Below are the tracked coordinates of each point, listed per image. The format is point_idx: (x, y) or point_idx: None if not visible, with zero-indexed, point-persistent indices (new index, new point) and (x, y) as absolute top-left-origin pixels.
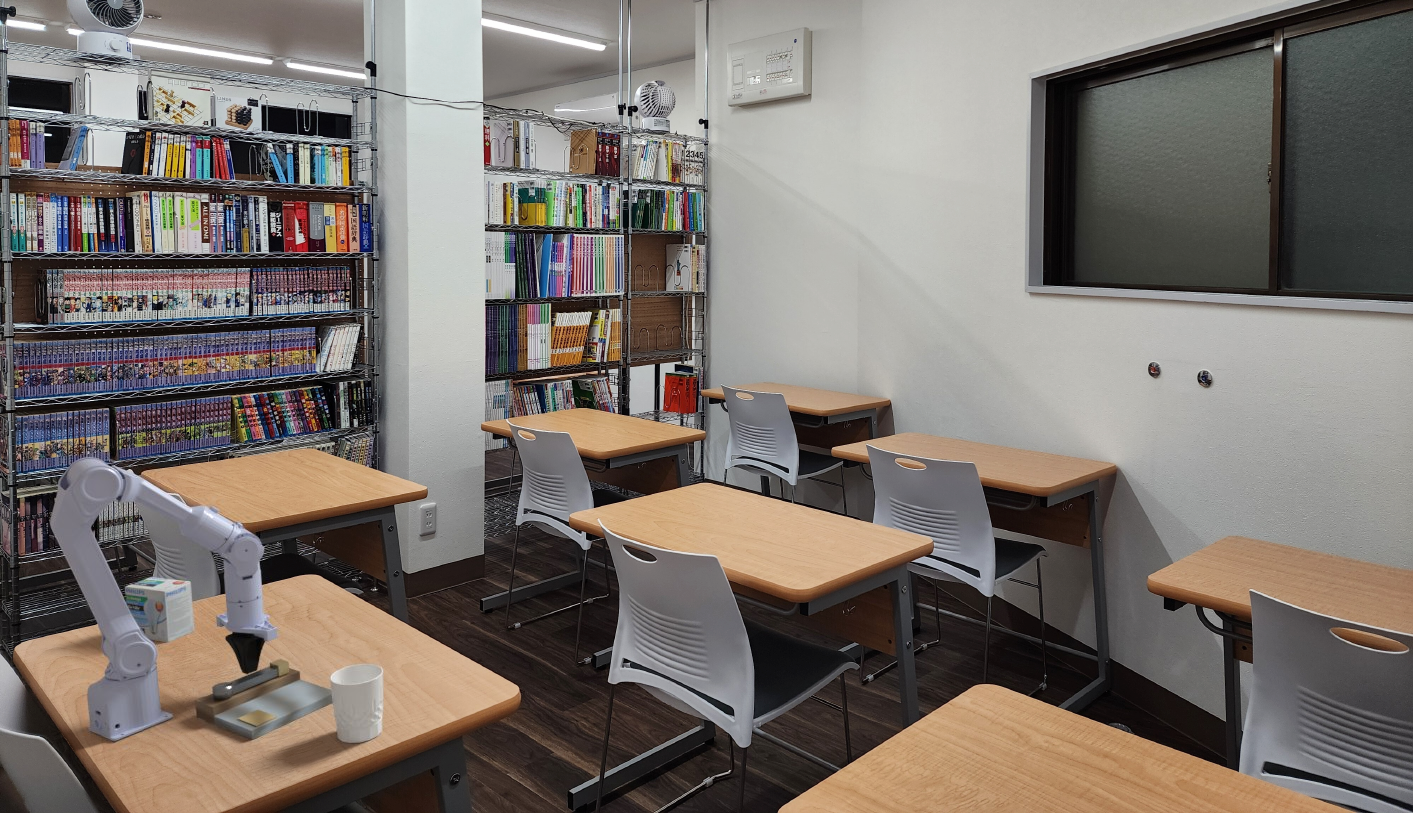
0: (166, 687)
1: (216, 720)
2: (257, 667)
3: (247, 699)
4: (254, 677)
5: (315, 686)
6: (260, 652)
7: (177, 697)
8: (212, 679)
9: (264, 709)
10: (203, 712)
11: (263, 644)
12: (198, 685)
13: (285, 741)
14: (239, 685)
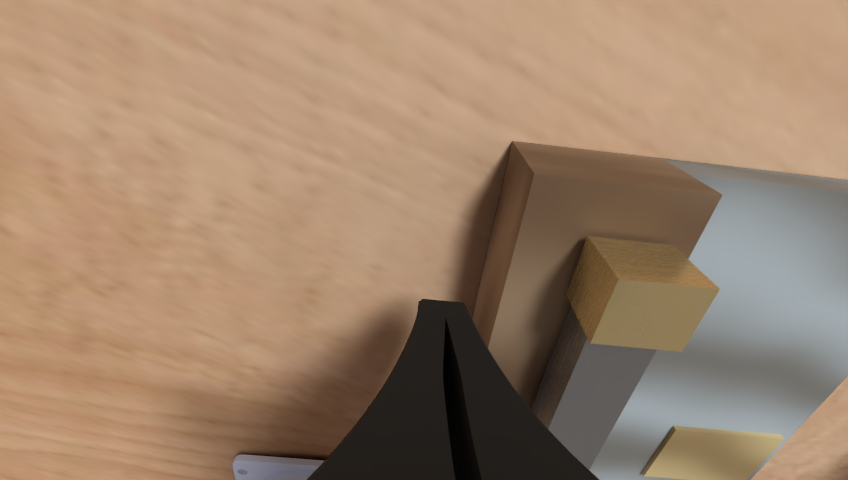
0: (108, 360)
1: None
2: (469, 314)
3: None
4: (604, 436)
5: (833, 208)
6: (509, 385)
7: (238, 390)
8: (169, 256)
9: (692, 414)
10: None
11: (557, 442)
12: (188, 312)
13: (830, 444)
14: None
